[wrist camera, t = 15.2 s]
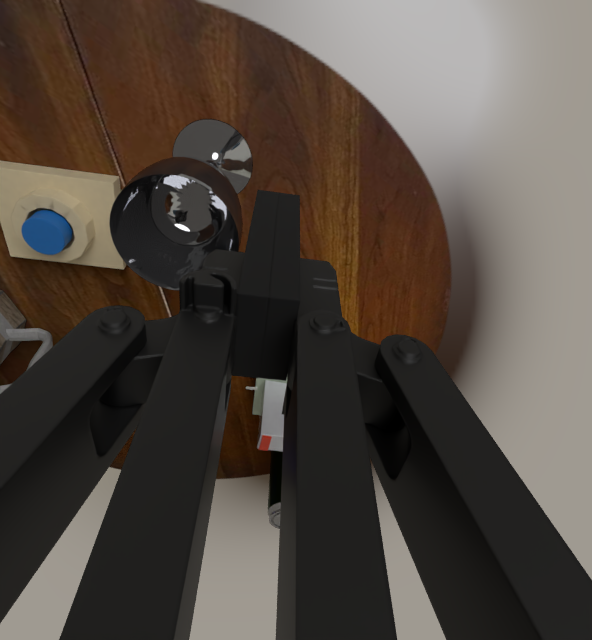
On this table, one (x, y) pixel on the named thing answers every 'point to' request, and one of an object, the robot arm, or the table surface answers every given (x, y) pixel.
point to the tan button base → (60, 211)
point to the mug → (18, 332)
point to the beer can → (275, 488)
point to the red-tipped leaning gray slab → (271, 417)
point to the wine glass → (183, 204)
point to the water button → (47, 232)
